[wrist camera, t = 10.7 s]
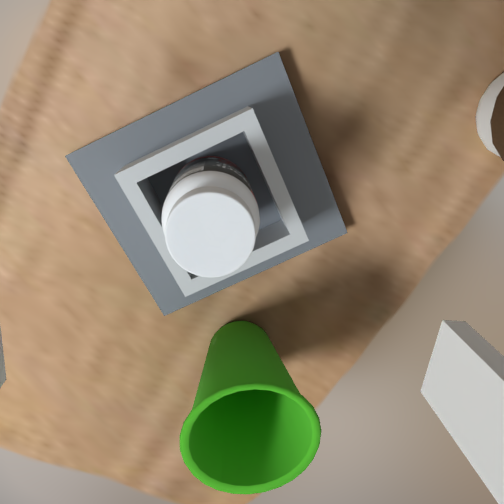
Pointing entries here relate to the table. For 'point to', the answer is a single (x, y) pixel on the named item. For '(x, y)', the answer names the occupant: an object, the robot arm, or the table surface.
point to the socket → (220, 145)
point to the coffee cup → (492, 117)
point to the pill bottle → (210, 217)
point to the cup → (247, 417)
